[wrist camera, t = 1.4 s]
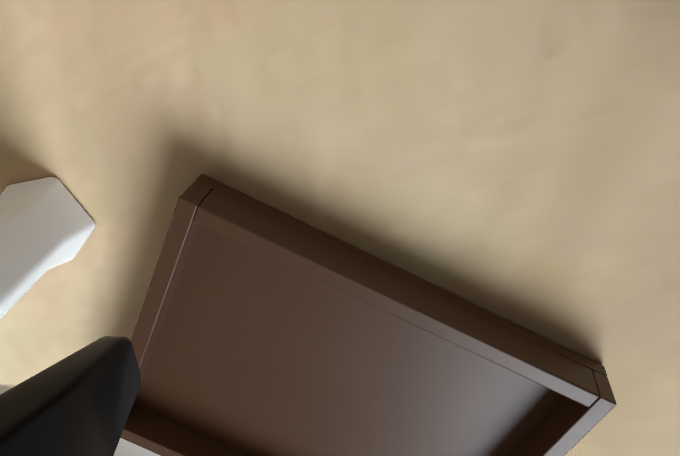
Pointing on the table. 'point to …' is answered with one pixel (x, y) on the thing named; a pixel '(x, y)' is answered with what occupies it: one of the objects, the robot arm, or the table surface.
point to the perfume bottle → (37, 234)
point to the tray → (334, 351)
